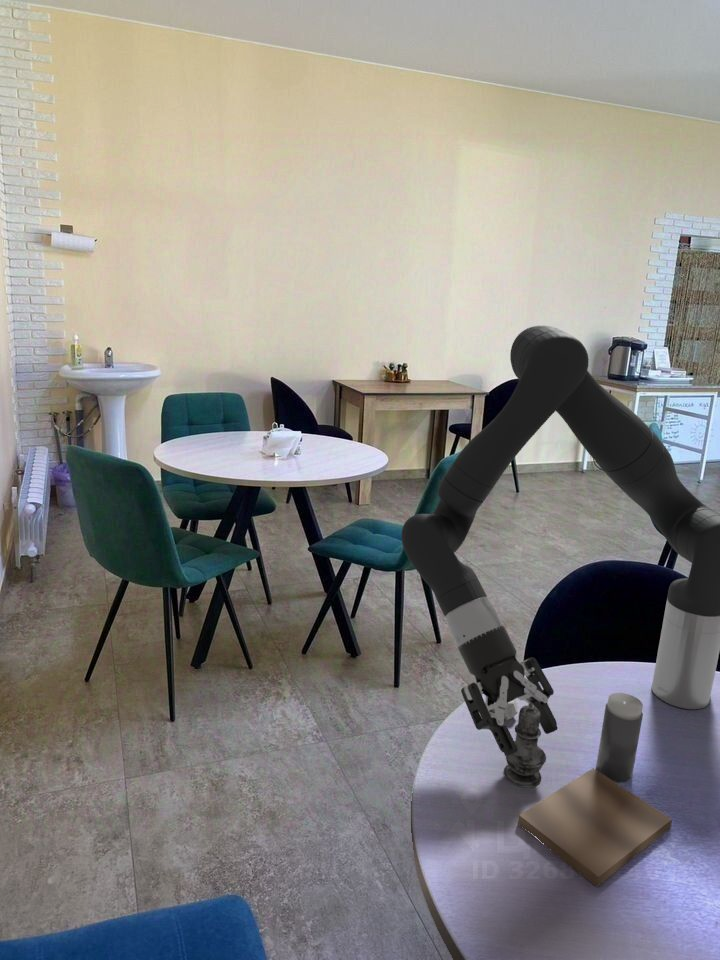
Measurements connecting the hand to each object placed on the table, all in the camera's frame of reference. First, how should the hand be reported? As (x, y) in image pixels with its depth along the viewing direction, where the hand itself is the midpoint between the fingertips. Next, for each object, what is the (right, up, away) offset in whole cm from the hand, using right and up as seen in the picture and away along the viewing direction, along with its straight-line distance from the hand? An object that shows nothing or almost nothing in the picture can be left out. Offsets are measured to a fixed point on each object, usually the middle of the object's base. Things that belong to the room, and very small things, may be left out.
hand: (532, 742), depth 99 cm
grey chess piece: (-1, -6, +3) cm, 6 cm away
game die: (0, -2, +16) cm, 16 cm away
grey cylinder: (+13, -6, +4) cm, 15 cm away
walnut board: (+6, -8, -7) cm, 12 cm away
